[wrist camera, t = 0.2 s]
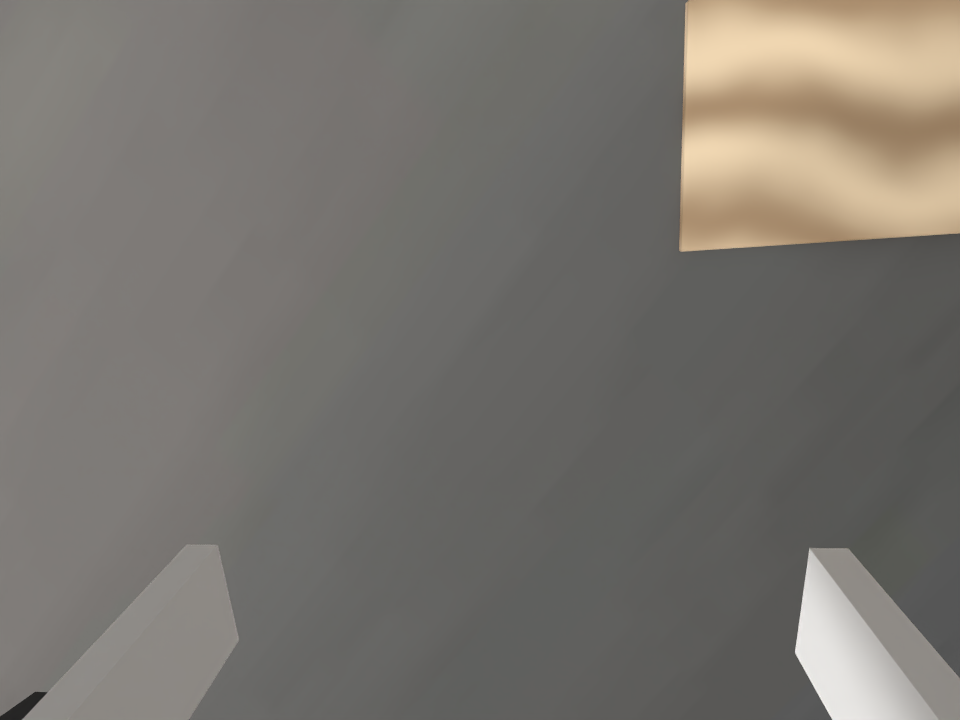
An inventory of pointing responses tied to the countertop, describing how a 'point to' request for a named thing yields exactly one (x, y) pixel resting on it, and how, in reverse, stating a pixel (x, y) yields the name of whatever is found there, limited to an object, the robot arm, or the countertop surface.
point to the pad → (819, 121)
